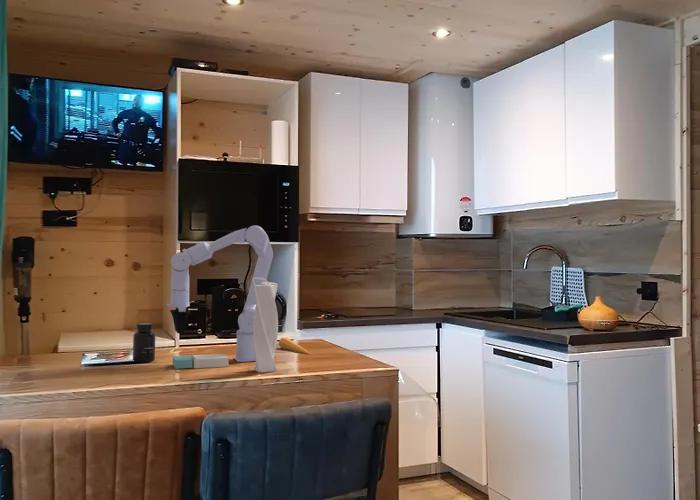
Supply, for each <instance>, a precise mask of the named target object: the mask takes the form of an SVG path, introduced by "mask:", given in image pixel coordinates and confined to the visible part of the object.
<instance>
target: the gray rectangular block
mask: <svg viewBox="0 0 700 500" xmlns="http://www.w3.org/2000/svg"><path fill="white" fill-rule="evenodd" d="M190 357H191V358H192V368H194V369H203V368H204V369H205V368H208V369H209V368H222V367H223V368H225V367H226V366H227V367H229V357H228V356H227V355H226V354H225V353H215V354H213V353H212V354H210V353H209V354H191V355H190Z"/></svg>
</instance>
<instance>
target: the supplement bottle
mask: <svg viewBox="0 0 700 500" xmlns="http://www.w3.org/2000/svg"><path fill="white" fill-rule="evenodd" d="M153 329H154V328H153V323H150V322H149V323H147V322H144V323H137V324H136V330H137V331H136V332H134V334H133V336H132V337H133V339H132V361H133V360H134V361H137V362H136V363H150V362H151V363H152V362H154V361H155V359H156V357H155V356H156V333H155V332H154V331H153ZM134 361H133V362H134Z"/></svg>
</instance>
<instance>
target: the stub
mask: <svg viewBox="0 0 700 500" xmlns="http://www.w3.org/2000/svg"><path fill="white" fill-rule="evenodd" d="M172 365H173V367H174V369H175V370H178V369H192V368H193V366H192V358H191V355H173V356H172Z"/></svg>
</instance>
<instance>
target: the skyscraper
mask: <svg viewBox="0 0 700 500" xmlns="http://www.w3.org/2000/svg"><path fill="white" fill-rule="evenodd" d="M254 279H261V280H264V281H266V282H261V285H255V282H254ZM252 280H253V283H254V287H255V293H256V299H257V302H256V307H255V312H254V320H253V336H254V346H255V353H256V359H257V360H256V361H255V365H254V367H253V371H256V372H257V373H260V372H261V373H270V372H271V373H272V372H277V371H278V370H277V368H276V364H275V360H274V359H275V358H274V357H275V353H276V349H277V344H278V343H277V342H278V335H279V334H278V333H279V315H278V309H277V303H276V296H277V291H278V287H279V284H278V283H276V282H272V281H271V282H270V281H269V280H268V279H267V280H266V279H264V278H260V277H254V278H253V277H252V278H251V281H252Z"/></svg>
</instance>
